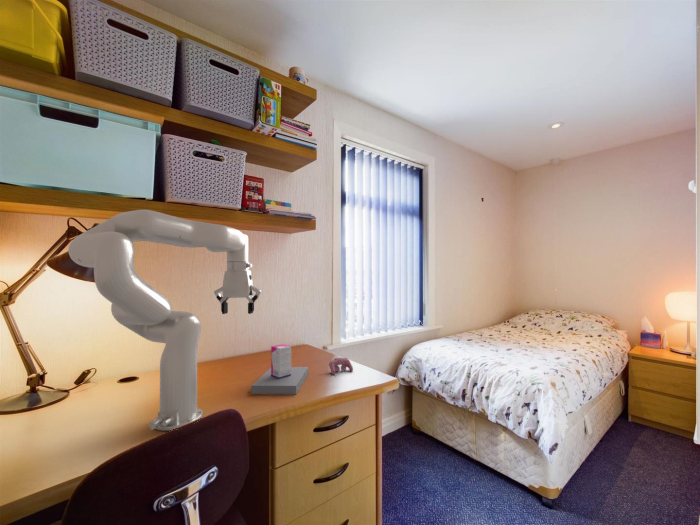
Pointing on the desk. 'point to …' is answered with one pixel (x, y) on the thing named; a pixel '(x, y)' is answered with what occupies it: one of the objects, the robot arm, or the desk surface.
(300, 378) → the riser
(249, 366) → the desk surface
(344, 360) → the pink toy elephant
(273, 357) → the supplement box
